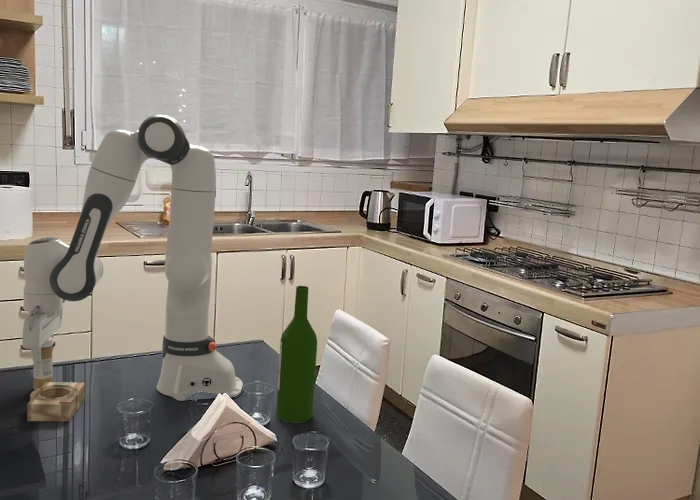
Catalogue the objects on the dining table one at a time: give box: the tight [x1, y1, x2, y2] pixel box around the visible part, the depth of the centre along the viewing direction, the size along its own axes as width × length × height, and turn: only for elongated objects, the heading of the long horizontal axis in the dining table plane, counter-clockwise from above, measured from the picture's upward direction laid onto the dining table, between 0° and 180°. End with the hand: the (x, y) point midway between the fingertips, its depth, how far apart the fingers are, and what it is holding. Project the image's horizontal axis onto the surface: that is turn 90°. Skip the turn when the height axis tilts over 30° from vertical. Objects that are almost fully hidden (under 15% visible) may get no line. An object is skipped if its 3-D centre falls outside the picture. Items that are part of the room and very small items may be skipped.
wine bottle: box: [275, 285, 318, 423], centre depth 158 cm, size 9×9×32 cm
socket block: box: [26, 381, 86, 422], centre depth 154 cm, size 10×14×4 cm
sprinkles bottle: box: [32, 337, 54, 391], centre depth 165 cm, size 5×5×13 cm
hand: (42, 355), depth 165 cm, fingers open, 7 cm apart
